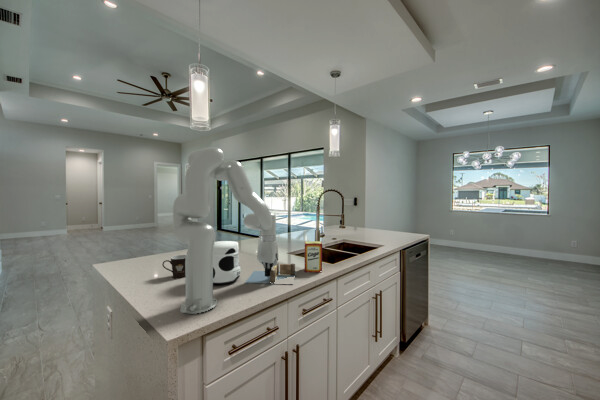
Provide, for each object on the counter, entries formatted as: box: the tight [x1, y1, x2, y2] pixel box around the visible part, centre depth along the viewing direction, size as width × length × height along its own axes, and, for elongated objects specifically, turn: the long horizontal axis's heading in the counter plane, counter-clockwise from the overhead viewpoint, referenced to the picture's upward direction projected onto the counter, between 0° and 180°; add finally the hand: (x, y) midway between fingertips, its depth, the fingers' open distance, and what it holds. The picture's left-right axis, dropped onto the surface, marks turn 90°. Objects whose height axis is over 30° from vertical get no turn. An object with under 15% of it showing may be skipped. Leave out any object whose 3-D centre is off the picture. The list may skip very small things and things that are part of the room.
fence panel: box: [270, 265, 277, 283], centre depth 121 cm, size 11×2×5 cm, turn 177°
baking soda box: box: [304, 240, 323, 273], centre depth 137 cm, size 10×6×16 cm
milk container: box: [213, 240, 242, 285], centre depth 120 cm, size 17×17×18 cm
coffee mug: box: [161, 254, 186, 280], centre depth 126 cm, size 12×9×10 cm
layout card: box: [244, 270, 297, 284], centre depth 125 cm, size 18×23×1 cm
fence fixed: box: [277, 262, 296, 276], centre depth 129 cm, size 11×2×6 cm, turn 86°
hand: (268, 275), depth 120 cm, fingers closed
